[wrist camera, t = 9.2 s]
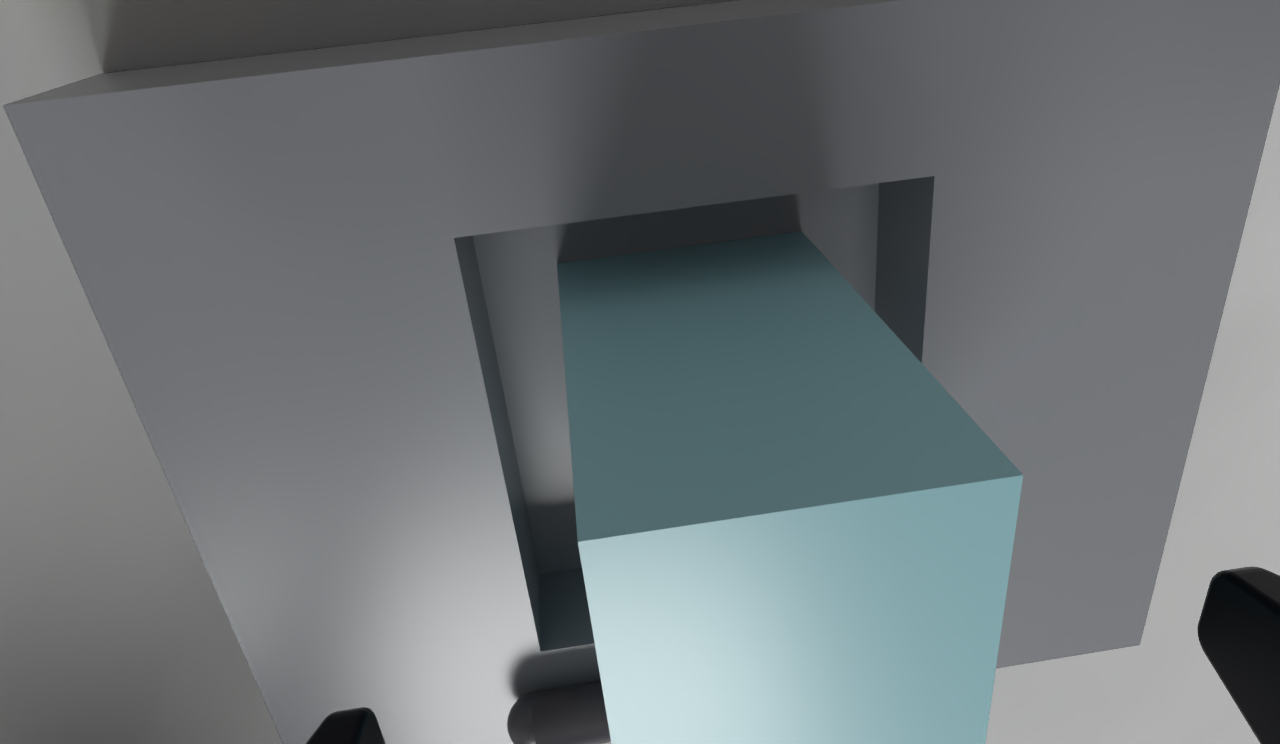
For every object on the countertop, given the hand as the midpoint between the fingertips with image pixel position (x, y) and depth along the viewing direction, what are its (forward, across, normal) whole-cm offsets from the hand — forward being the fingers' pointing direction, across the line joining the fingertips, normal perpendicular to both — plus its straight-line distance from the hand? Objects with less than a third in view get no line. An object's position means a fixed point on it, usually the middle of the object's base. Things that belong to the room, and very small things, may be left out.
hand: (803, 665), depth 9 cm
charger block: (+7, 0, 0) cm, 7 cm away
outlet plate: (+7, 0, 0) cm, 7 cm away
